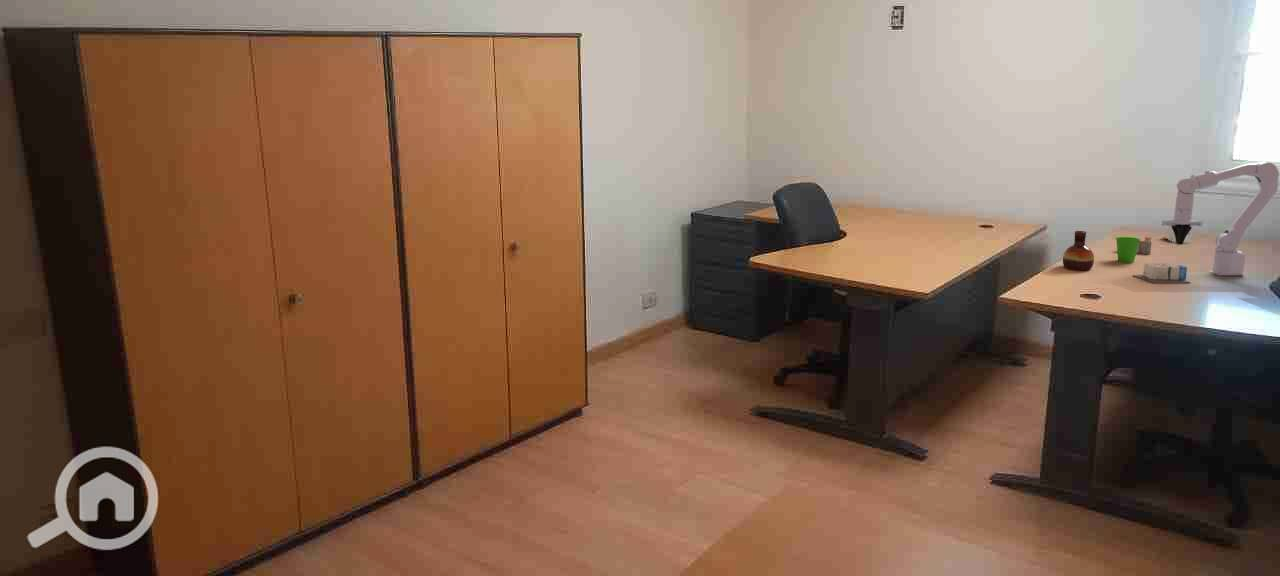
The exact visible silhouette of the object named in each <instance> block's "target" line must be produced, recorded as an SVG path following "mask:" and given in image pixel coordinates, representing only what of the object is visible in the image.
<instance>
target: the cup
mask: <svg viewBox="0 0 1280 576" xmlns="http://www.w3.org/2000/svg"><path fill="white" fill-rule="evenodd" d="M1115 239H1116V251H1117V262H1119V263H1124V264H1133V263H1134V262H1135V259H1136V254H1137V253H1136V252H1137V248H1138V245H1139V241H1142V239H1141V238H1140V237H1136V236H1135V237H1134V236H1116V237H1115Z"/></svg>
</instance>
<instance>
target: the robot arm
mask: <svg viewBox="0 0 1280 576" xmlns="http://www.w3.org/2000/svg"><path fill="white" fill-rule="evenodd" d="M1241 176H1249V177H1255V179H1256V180H1257V182H1258V187H1259V190H1258V191H1257V192H1256V193H1255V195H1253V197H1252V198H1251V200H1250V201H1249V202H1248V203H1247V205H1246V206H1245V207H1244V208H1243V210H1242V211H1241V212H1240V214H1238V216H1237V217H1236V218H1235V220H1234V221H1233V222H1232V223H1231V224H1230V225H1228V227H1227V228H1225V230H1224V231H1222V232H1220V233H1218V234H1217V235H1216V237H1215V244H1216V246H1217V247H1216V248H1214V255H1213V264H1212V270H1207V272H1208V273H1210V274H1213V275H1216V276H1244V275H1245V274H1244V270H1245V269H1244V267H1245V261H1246V260H1245V259H1246V258H1245V253H1243V251H1241V250H1238V249H1237V248H1239V246H1240V240H1242V238H1243V236H1244V233H1245V232H1246V230H1247V229H1248V228H1249V227H1250V225H1251V224H1252V223H1253V222H1254V220H1255V219H1256V218H1257V217H1258V215H1259V214H1260V213H1261V212H1262V210H1263V209H1264V208H1265V207H1266V206H1267V204H1268V203H1269V202H1270V201H1271V199H1273V198H1274V196H1275V195H1276V193H1277V192H1278V187H1279V186H1278V185H1279V176H1280V173H1279V170H1278V167H1277V166H1276V165H1275V163H1272V162H1268V161H1258V162H1252V163H1247V164H1243V165H1239V166H1236V167H1232V168H1230V169H1226V170H1223V171H1219V172H1217V171H1214V170H1209V169H1207V170H1205V171H1204V172H1203V173H1199V174H1195V175H1194V174H1191V175H1190V177H1182V178H1181V179H1179V180H1178V182H1177V184H1176V188H1177V190H1178V191H1177V193H1176V194H1177V195H1176V199H1175V207H1174V216H1173V219H1162V220H1161V225H1162V226H1164V227H1166V226H1167V227H1168V225H1172V229H1173V231H1174V234H1175V238H1176V243H1175V244H1176V245H1183V244H1184V243H1183V242H1184V240H1185V237H1186V236H1187V234H1188V233H1189V231H1190V230H1191V228H1192V229H1193V227H1203V220H1196V219H1195V220H1194V219H1192V217H1193V216H1192V215H1193V209H1194V208H1193V207H1194V199H1195V198H1194V196H1195V192H1196V190H1197V191H1199V190H1203V189H1207V188H1211V187H1216V186H1217V185H1218V184H1219V182H1221V181H1224V180H1229V179H1232V178H1237V177H1241ZM1178 223H1182V224H1178ZM1190 226H1192V227H1190Z"/></svg>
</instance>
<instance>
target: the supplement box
mask: <svg viewBox="0 0 1280 576" xmlns="http://www.w3.org/2000/svg"><path fill="white" fill-rule="evenodd" d="M1178 224H1182V223H1178ZM1190 227H1192V228H1191V230H1190V231H1189V233H1188V234H1187V236H1186V237H1185V240H1184V242H1183V244H1191V239H1192V233H1193V232H1192V231H1193V226H1190ZM1166 237H1167V238H1166V240H1167V239H1168V240H1167V241H1169V240H1170V241H1169V242H1171V241H1172V242H1171V243H1173V242H1176V238H1175V234H1174V231H1173V229H1172V225H1167V235H1166Z"/></svg>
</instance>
